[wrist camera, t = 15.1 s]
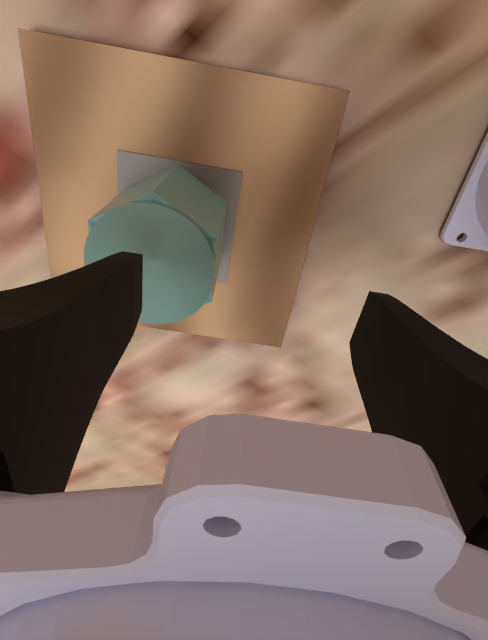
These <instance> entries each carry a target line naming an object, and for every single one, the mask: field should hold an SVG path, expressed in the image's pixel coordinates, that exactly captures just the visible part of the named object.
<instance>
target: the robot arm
mask: <svg viewBox="0 0 488 640" xmlns="http://www.w3.org/2000/svg"><path fill="white" fill-rule="evenodd" d="M461 233H464V235H463V237H462V238H461V239H458V240H456V239H457V236H458V235H459V234H461ZM440 237H441V240H442V241H443V242H444V243H446V244H448V245H454V246H460V247H466V248H471V249H477V250H483V251H488V132H487V134H486V136H485V138H484V140H483V142H482V145H481V147H480V149H479V151H478V153H477V155H476V158H475V160H474V162H473V164H472V166H471V168H470V171H469V173H468V175H467V177H466V179H465V181H464V184H463V186H462V188H461V190H460V192H459V195H458V197H457V199H456V201H455V203H454V205H453V208H452V210H451V212H450V214H449V216H448V218H447V221H446V223H445V225H444V227H443V229H442V231H441V235H440ZM142 280H143V254H137V253H131V252H125V251H122V252H118V253H115V254H112V255H110V256H107V257H105V258H103V259H100V260H98V261H96V262H93V263H91V264H88V265H86V266H83V267H81V268H79V269H76V270H73V271H70V272H68V273H65V274H62V275H59V276H57V277H54V278H51V279H48V280H45V281H41V282H38V283H34V284H31V285H27V286H23V287H19V288H15V289H10V290H5V291H0V640H488V359H486V358H485V357H483V356H481V355H479V354H477V353H476V352H474V351H472V350H471V349H469V348H467V347H466V346H464V345H462V344H461V343H459V342H458V341H456V340H455V339H453V338H452V337H450V336H449V335H447V334H446V333H444V332H443V331H441V330H440V329H438V328H437V327H436V326H434V325H433V324H431V323H430V322H429V321H427V320H426V319H424V318H423V317H422V316H420V315H419V314H418V313H416V312H415V311H413V310H412V309H411V308H409V307H408V306H406V305H405V304H403V303H402V302H401V301H399V300H397V299H396V298H394V297H392V296H390V295H388V294H383V293H377V292H371V291H369V294H368V296H367V299H366V301H365V304H364V306H363V309H362V312H361V314H360V317H359V319H358V322H357V324H356V327H355V330H354V332H353V335H352V337H351V340H350V351H351V359H352V366H353V370H354V374H355V377H356V380H357V384H358V387H359V390H360V394H361V397H362V400H363V403H364V406H365V410H366V413H367V416H368V419H369V423H370V426H371V430H372V432H365V431H358V430H351V429H344V428H337V427H330V426H323V425H316V424H309V423H302V422H295V421H288V420H281V419H274V418H267V417H261V416H254V415H247V414H232V415H211V416H207V417H205V418H203V419H201V420H199V421H197V422H195V423H193V424H191V425H189V426H187V427H185V428H183V429H181V431H180V433H179V435H178V437H177V439H176V440H175V442H174V444H173V446H172V448H171V450H170V454H169V458H168V462H167V466H166V470H165V475H164V479H163V483H162V484H157V485H145V486H133V487H121V488H108V489H96V490H84V491H72V492H64V491H65V488H66V485H67V482H68V479H69V477H70V474H71V471H72V468H73V465H74V462H75V460H76V457H77V454H78V451H79V449H80V446H81V443H82V441H83V438H84V436H85V433H86V430H87V428H88V425H89V423H90V420H91V418H92V415H93V413H94V410H95V408H96V405H97V403H98V400H99V398H100V396H101V394H102V392H103V390H104V388H105V386H106V384H107V382H108V380H109V378H110V377H111V375H112V373H113V371H114V369H115V368H116V366H117V364H118V362H119V360H120V358H121V357H122V355H123V353H124V351H125V349H126V347H127V346H128V344H129V342H130V340H131V338H132V336H133V334H134V332H135V329H136V326H137V324H138V321H139V318H140V315H141V312H142Z"/></svg>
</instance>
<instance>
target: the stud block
mask: <svg viewBox="0 0 488 640" xmlns="http://www.w3.org/2000/svg"><path fill="white" fill-rule="evenodd" d="M18 33H19V40H20V48H21V55H22V63H23V70H24V78H25V85H26V93H27V100H28V108H29V115H30V122H31V130H32V137H33V145H34V152H35V160H36V167H37V175H38V182H39V190H40V197H41V205H42V212H43V220H44V227H45V235H46V242H47V250H48V257H49V265H50V272H51V278H54V277H57V276H59V275H62V274H65V273H68V272H70V271H73V270H76V269H79V268H81V267H83V266H85V265H84V246H85V242H86V239H87V236H88V234H89V231H88V220H89V219H90V218H92V217H93V216H94V215H95V214H96V213H97V212H99V211H100V210H101V209H102V208H103V207H105V206H106V205H107V204H108V203H109V202H111V201H112V200H113V199H114V198H115V197H117V196H118V195H119V194H120V193H121V192H122V191H124V190H125V189H126V188H128V187H130V186H132V185H135V184H137V183H139V182H141V181H143V180H145V179H148V178H150V177H152V176H154V175H156V174H158V173H161V172H163V171H165V170H167V169H169V168H172V167H174V166H176V165H180V166H181V167H182V168H183V169H185V170H186V171H187V172H189V173H190V174H191V175H193V176H194V177H195V178H197V179H198V180H199V181H200V182H202V183H203V184H204V185H206V186H207V187H208V188H210V189H211V190H212V191H214V192H215V193H216V194H217V195H219V196H220V197H221V198H223V199H224V200H225V201H227V210H226V220H225V230H224V240H223V250H222V258H221V262H220V267H219V271H218V276H217V280H216V285H215V289H214V294H213V298H212V302H211V303H208V304H205V305H203V306H202V307H201V308H200V309H199V310H198V311H197V312H195V313H194V314H193V315H191V316H190V317H188V318H186V319H184V320H181V321H178V322H175V323H170V324H148V323H142V322H139V321H138V324H137V325H138V326H145V327H151V328H158V329H164V330H171V331H177V332H184V333H190V334H197V335H203V336H210V337H216V338H223V339H229V340H236V341H242V342H249V343H256V344H262V345H269V346H275V347H281V346H282V342H283V338H284V334H285V331H286V327H287V323H288V319H289V316H290V312H291V308H292V304H293V301H294V297H295V293H296V290H297V286H298V282H299V278H300V275H301V271H302V267H303V263H304V260H305V256H306V252H307V248H308V245H309V241H310V237H311V233H312V230H313V226H314V222H315V218H316V215H317V211H318V207H319V203H320V200H321V196H322V192H323V188H324V185H325V181H326V177H327V173H328V170H329V166H330V162H331V159H332V155H333V151H334V147H335V144H336V140H337V136H338V132H339V129H340V125H341V121H342V117H343V114H344V110H345V106H346V102H347V99H348V95H349V91H346V90H341V89H336V88H330V87H325V86H320V85H315V84H309V83H304V82H299V81H294V80H288V79H283V78H278V77H273V76H267V75H262V74H257V73H252V72H246V71H241V70H236V69H231V68H225V67H220V66H215V65H210V64H204V63H199V62H194V61H189V60H183V59H178V58H173V57H168V56H162V55H157V54H152V53H147V52H141V51H136V50H131V49H126V48H120V47H115V46H110V45H105V44H99V43H94V42H89V41H83V40H78V39H73V38H68V37H62V36H57V35H52V34H47V33H41V32H36V31H31V30H26V29H20V28H18Z"/></svg>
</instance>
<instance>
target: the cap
mask: <svg viewBox="0 0 488 640" xmlns="http://www.w3.org/2000/svg"><path fill="white" fill-rule="evenodd" d="M226 210H227V201H225V200H224V199H223V198H221V197H220V196H219V195H217V194H216V193H215V192H214V191H212V190H211V189H210V188H208V187H207V186H206V185H204V184H203V183H202V182H200V181H199V180H198V179H197V178H195V177H194V176H193V175H191V174H190V173H189V172H187V171H186V170H185V169H183V168H182V167H181V166H180V165H176V166H174V167H172V168H169V169H167V170H165V171H163V172H161V173H158V174H156V175H154V176H152V177H150V178H148V179H145V180H143V181H141V182H139V183H137V184H135V185H132V186H130V187H128V188H126V189H125V190H124V191H122V192H121V193H120V194H119V195H118V196H117V197H115V198H114V199H113V200H112V201H111V202H109V203H108V204H107V205H106V206H105V207H103V208H102V209H101V210H100V211H99V212H97V213H96V214H95V215H94V216H93V217H92V218H90V219H89V220H88V231H89V234H88V236H87V239H86V242H85V246H84V265H85V266H86V265H88V264H91V263H93V262H96V261H98V260H100V259H103V258H105V257H107V256H110V255H112V254H115V253H118V252H122V251H125V252H131V253H137V254H143V280H142V312H141V315H140V318H139V322H142V323H148V324H170V323H175V322H178V321H181V320H184V319H186V318H188V317H190V316H191V315H193V314H194V313H195V312H197V311H198V310H199V309H200V308H201V307H202V306H203V305H205V304H208V303H211V302H212V298H213V294H214V289H215V285H216V280H217V276H218V271H219V267H220V262H221V258H222V250H223V240H224V230H225V220H226Z"/></svg>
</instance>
